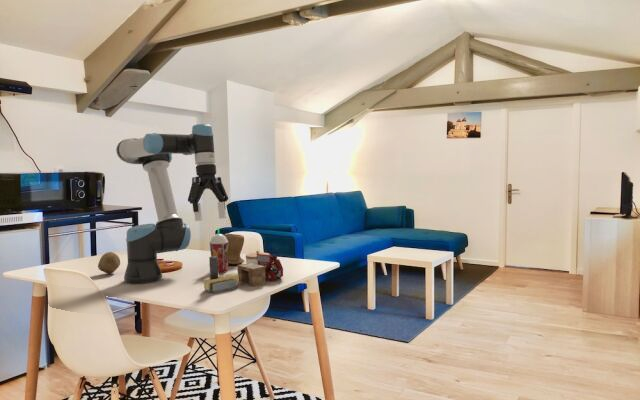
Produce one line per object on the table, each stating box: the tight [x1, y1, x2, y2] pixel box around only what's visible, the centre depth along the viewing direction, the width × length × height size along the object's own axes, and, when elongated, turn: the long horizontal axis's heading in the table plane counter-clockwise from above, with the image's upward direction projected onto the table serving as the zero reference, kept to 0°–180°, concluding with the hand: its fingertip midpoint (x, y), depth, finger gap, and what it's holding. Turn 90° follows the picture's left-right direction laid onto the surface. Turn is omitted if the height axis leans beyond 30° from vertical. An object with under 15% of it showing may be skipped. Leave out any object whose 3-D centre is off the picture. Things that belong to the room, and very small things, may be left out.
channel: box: [204, 279, 238, 294], centre depth 178 cm, size 7×10×4 cm, turn 132°
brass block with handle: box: [203, 256, 240, 290], centre depth 178 cm, size 4×13×12 cm, turn 131°
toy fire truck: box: [257, 254, 284, 282], centre depth 193 cm, size 7×12×10 cm, turn 60°
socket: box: [236, 263, 267, 287], centre depth 187 cm, size 11×6×7 cm, turn 42°
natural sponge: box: [97, 251, 121, 274], centre depth 211 cm, size 9×9×10 cm
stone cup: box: [223, 233, 245, 265], centre depth 228 cm, size 15×12×15 cm
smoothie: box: [209, 227, 229, 274], centre depth 210 cm, size 8×8×20 cm
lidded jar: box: [245, 250, 271, 265], centre depth 208 cm, size 11×11×9 cm
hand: (210, 219), depth 178 cm, fingers open, 13 cm apart
